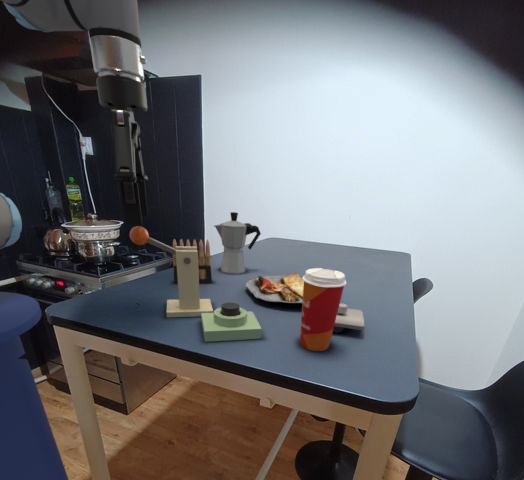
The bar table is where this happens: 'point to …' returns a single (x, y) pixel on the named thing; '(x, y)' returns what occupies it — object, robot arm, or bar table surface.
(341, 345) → the bar table surface
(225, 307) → the button
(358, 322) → the light switch
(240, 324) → the button block
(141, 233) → the switch lever
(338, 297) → the paper cup
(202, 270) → the ammunition clip
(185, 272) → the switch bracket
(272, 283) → the food plate
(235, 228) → the coffee maker
